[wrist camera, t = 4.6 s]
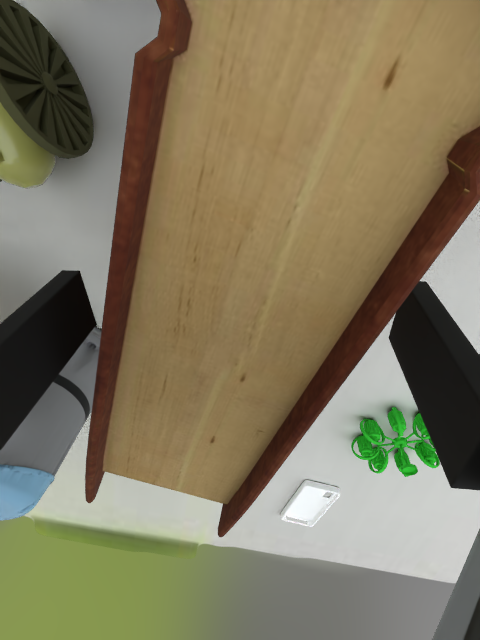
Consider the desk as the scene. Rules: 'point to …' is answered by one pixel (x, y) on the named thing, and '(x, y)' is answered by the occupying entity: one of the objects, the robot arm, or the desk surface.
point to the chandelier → (401, 457)
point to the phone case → (309, 502)
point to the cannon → (37, 101)
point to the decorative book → (272, 224)
